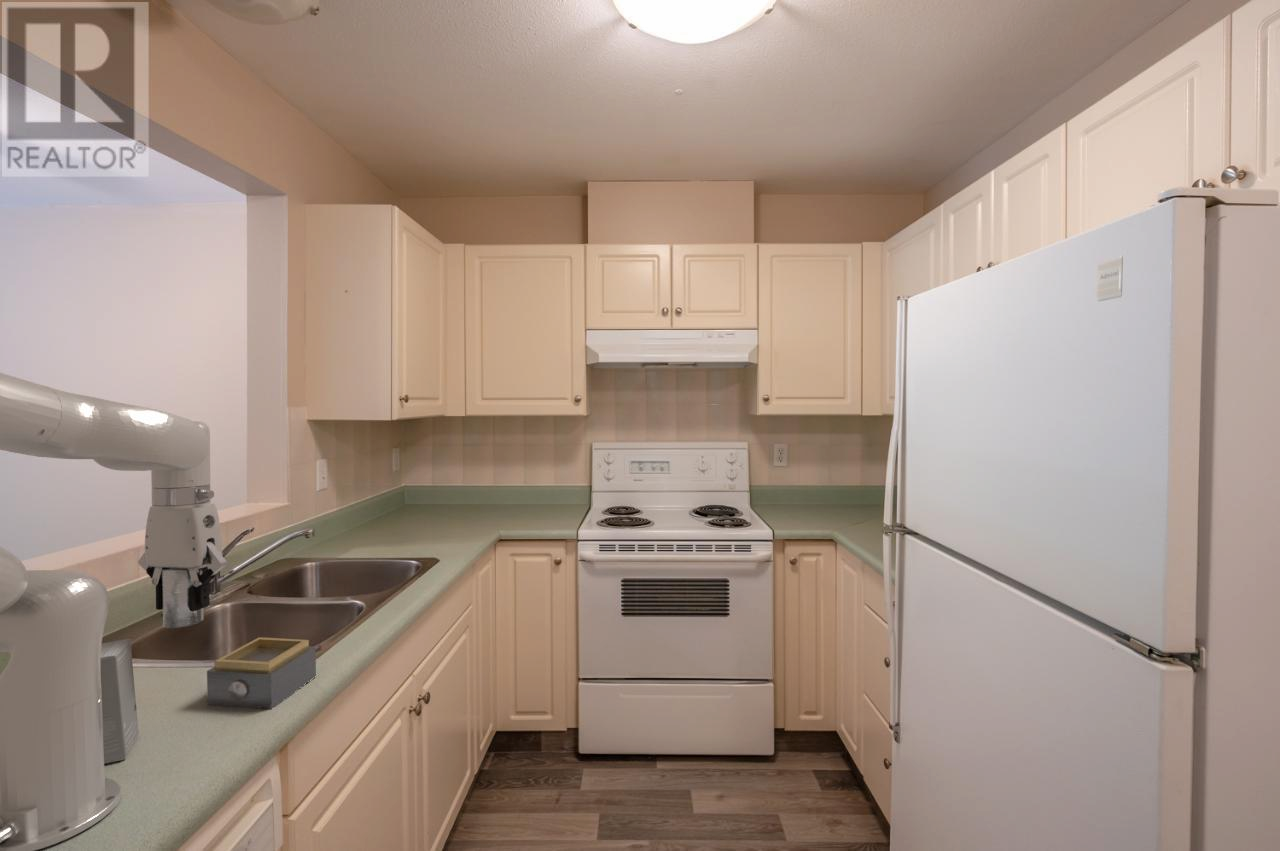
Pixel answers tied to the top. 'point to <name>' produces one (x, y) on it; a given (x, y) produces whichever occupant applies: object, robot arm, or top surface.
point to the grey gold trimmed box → (261, 673)
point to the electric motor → (178, 598)
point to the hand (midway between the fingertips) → (183, 606)
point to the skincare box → (118, 700)
